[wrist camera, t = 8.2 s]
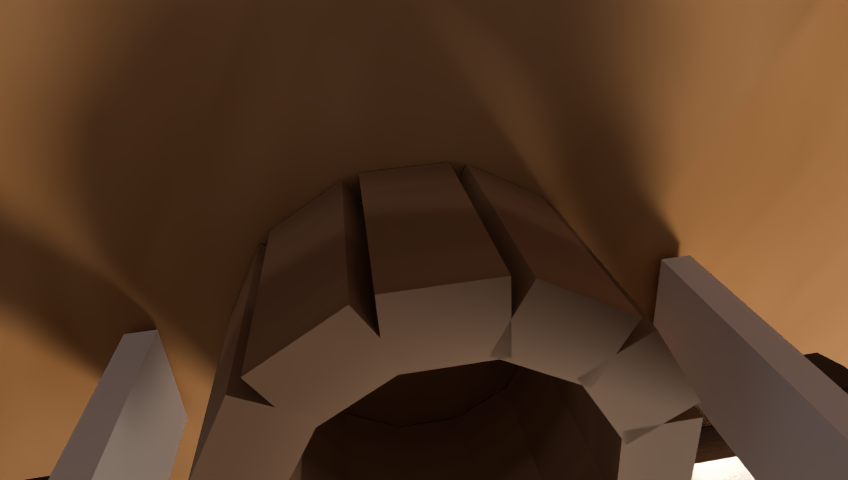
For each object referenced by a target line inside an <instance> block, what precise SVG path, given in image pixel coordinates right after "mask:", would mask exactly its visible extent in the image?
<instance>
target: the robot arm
mask: <svg viewBox="0 0 848 480" xmlns="http://www.w3.org/2000/svg"><path fill="white" fill-rule="evenodd" d="M653 325H654V326H655V327H656V328H657V330H658V331H659V333H660V335H661V336H662V338H663V340H664V341H665V343H666V345H667V346H668V348H669V350H670V351H671V353H672V355H673V356H674V358H675V360H676V361H677V363H678V365H679V366H680V368H681V370H682V371H683V373H684V375H685V376H686V378H687V380H688V381H689V383H690V384H691V386H692V388H693V389H694V391H695V393H696V394H697V396H698V398H699V399H700V401H701V402H700V403H698V404H696V405H697V406H698V407H699V409H700V410H701V411H702V412H703V414H704V415H705V416H706V418H707V419H708V420H709V421H710V423H711V424H712V425H713V426H714V428H715V429H716V430H717V432H718V433H719V434H720V435H721V437H722V438H723V439H724V440H725V442H726V443H727V444H728V446H729V447H730V448H731V449H732V451H733V452H734V453H735V454H736V456H737V457H738V458H739V460H740V461H741V462H742V463H743V465H744V466H745V467H746V468H747V470H748V471H749V472H750V474H751V475H752V476H753V477H754V479H755V480H848V369H847V368H846V367H844V366H842V365H840V364H838V363H836V362H834V361H832V360H830V359H828V358H827V357H825V356H823V355H821V354H819V353H812V354H806V355H803V354H801V353H800V352H799V351H798V350H797V349H796V348H795V347H794V346H792V345H791V344H790V343H789V342H788V341H787V340H786V339H784V338H783V337H782V336H781V335H780V334H779V333H778V332H776V331H775V330H774V329H773V328H772V327H771V326H770V325H769V324H767V323H766V322H765V321H764V320H763V319H762V318H761V317H759V316H758V315H757V314H756V313H755V312H754V311H753V310H751V309H750V308H749V307H748V306H747V305H746V304H745V303H744V302H742V301H741V300H740V299H739V298H738V297H737V296H736V295H734V294H733V293H732V292H731V291H730V290H729V289H728V288H726V287H725V286H724V285H723V284H722V283H721V282H720V281H719V280H717V279H716V278H715V277H714V276H713V275H712V274H711V273H709V272H708V271H707V270H706V269H705V268H704V267H703V266H701V265H700V264H699V263H698V262H697V261H696V260H695V259H694V258H692V257H691V256H690V255H689V256H682V257H674V258H667V259H661V267H660V275H659V283H658V290H657V298H656V306H655V314H654V322H653ZM186 420H187V414H186V411H185V408H184V405H183V403H182V400H181V397H180V394H179V391H178V388H177V385H176V382H175V379H174V376H173V373H172V371H171V368H170V365H169V362H168V359H167V356H166V353H165V350H164V347H163V344H162V341H161V338H160V336H159V333H158V330H151V331H143V332H136V333H129V334H124V335H123V337H122V339H121V341H120V343H119V344H118V346H117V348H116V350H115V352H114V354H113V356H112V358H111V360H110V362H109V364H108V366H107V368H106V369H105V371H104V373H103V375H102V377H101V379H100V381H99V383H98V385H97V387H96V389H95V391H94V393H93V395H92V396H91V398H90V400H89V402H88V404H87V406H86V408H85V410H84V412H83V414H82V416H81V418H80V420H79V421H78V423H77V425H76V427H75V429H74V431H73V433H72V435H71V437H70V439H69V441H68V443H67V445H66V447H65V448H64V450H63V452H62V454H61V456H60V458H59V460H58V462H57V464H56V466H55V468H54V470H53V472H52V473H51V475H50V476H46V477H39V478H33V479H27V480H169V478H170V474H171V471H172V468H173V464H174V461H175V458H176V454H177V451H178V447H179V444H180V441H181V437H182V434H183V431H184V427H185V424H186Z"/></svg>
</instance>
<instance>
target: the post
mask: <svg viewBox="0 0 848 480" xmlns="http://www.w3.org/2000/svg"><path fill="white" fill-rule="evenodd" d="M691 480H755V479H754V477H753V476H752V475H751V474H750V472H749V471H748V470H747V468H746V467H745V466H744V465H743V463H742V462H741V461H740V460H739V458H738V457H737V456H736V454H735V453H734V452H733V451H732V449H731V448H730V447H729V446H728V444H727V443H726V442H725V440H724V439H723V438H722V437H721V435H720V434H719V433H718V432H717V430H716V429H715V428H714V426H711V427H705V428H701V432H700V437H699V443H698V448H697V453H696V458H695V463H694V469H693V474H692V479H691Z"/></svg>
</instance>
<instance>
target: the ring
mask: <svg viewBox="0 0 848 480" xmlns="http://www.w3.org/2000/svg"><path fill="white" fill-rule="evenodd" d="M359 180H360V187H361V195H362V202H363V205H362V203H361V202H360V201H359V200H358V199H357V197H356V196H355V195H354V194H353V193H352V191H351V190H350V189H349V188H348V187H347V185H346V184H345V183H344V182H343V181H342V179H341V180H340V181H339V182H337V183H336V184H334V185H333V186H332V187H330V188H329V189H327V190H326V191H325V192H323V193H322V194H321V195H319V196H318V197H316V198H315V199H314V200H312V201H311V202H309V203H308V204H307V205H305V206H304V207H302V208H301V209H300V210H298V211H297V212H295V213H294V214H293V215H291V216H290V217H288V218H287V219H286V220H284V221H283V222H281V223H280V224H279V225H277V226H276V227H274V228H273V229H272V230H270V232H269V237H268V242H267V246H265V245H262V244H259V246H258V248H257V251H256V253H255V256H254V258H253V261H252V263H251V266H250V268H249V271H248V273H247V276H246V278H245V281H244V283H243V286H242V288H241V291H240V293H239V296H238V298H237V301H236V303H235V306H234V308H233V311H232V313H231V317H230V321H229V325H228V328H227V332H226V336H225V340H224V344H223V348H222V352H221V356H220V359H219V363H218V367H217V371H216V375H215V379H214V383H213V387H212V390H211V394H210V398H209V402H208V406H207V410H206V414H205V418H204V422H203V425H202V429H201V433H200V437H199V441H198V445H197V449H196V453H195V456H194V460H193V464H192V468H191V472H190V476H189V480H691V479H692V474H693V469H694V463H695V458H696V453H697V448H698V443H699V437H700V432H701V427H702V422H703V416H702V415H701V414H700V412H699V411H698V410H697V409H696V407H695V405H696V404H698V403H700V402H701V401H700V399H699V398H698V396H697V394H696V393H695V391H694V389H693V388H692V386H691V384H690V383H689V381H688V380H687V378H686V376H685V375H684V373H683V371H682V370H681V368H680V366H679V365H678V363H677V361H676V360H675V358H674V356H673V355H672V353H671V351H670V350H669V348H668V346H667V345H666V343H665V341H664V340H663V338H662V336H661V335H660V333H659V331H658V330H657V328H656V327H655V326H654V325H653V324H652V323H651V321H650V320H649V319H648V318H647V317H646V315H645V314H644V313H643V312H642V311H641V309H640V308H639V307H638V306H637V305H636V304H635V302H634V301H633V300H632V299H631V298H630V296H629V295H628V294H627V293H626V292H625V291H624V289H623V288H622V287H621V286H620V285H619V283H618V282H617V281H616V280H615V279H614V277H613V276H612V275H611V274H610V273H609V272H608V270H607V269H606V268H605V267H604V266H603V264H602V263H601V262H600V261H599V260H598V259H597V257H596V256H595V255H594V254H593V253H592V251H591V250H590V249H589V248H588V247H587V245H586V244H585V243H584V242H583V241H582V240H581V238H580V237H579V236H578V235H577V234H576V232H575V231H574V230H573V229H572V228H571V226H570V225H569V224H568V223H567V222H566V221H565V219H564V218H563V217H562V216H561V215H560V213H559V212H558V211H557V210H556V209H555V208H554V206H552V207H550V206H549V205H548V203H547V202H546V201H545V200H544V198H543V197H542V196H540V195H538V194H535V193H533V192H531V191H528V190H526V189H524V188H521V187H519V186H516V185H514V184H512V183H509V182H507V181H505V180H502V179H500V178H498V177H495V176H493V175H491V174H488V173H486V172H483V171H481V170H479V169H476V168H474V167H472V166H469V165H467V164H466V166H465V168H464V170H463V172H462V174H461V176H460V178H459V179H458V177H457V175H456V173H455V172H454V170H453V168H452V166H451V164H450V162H445V163H437V164H428V165H420V166H412V167H404V168H395V169H387V170H379V171H370V172H362V173H359ZM498 359H500V360H503V361H507V362H510V363H513V364H516V365H519V368H518V369H517V371H516V372H515V374H514V375H513V377H512V379H511V380H510V382H509V383H508V385H507V386H506V388H505V389H503V390H501V391H500V392H498V393H497V394H495V395H493V396H492V397H490V398H489V399H487V400H485V401H484V402H482V403H480V404H479V405H477V406H476V407H474V408H472V409H471V410H469V411H467V412H466V413H464V414H463V415H461V416H459V417H458V418H454V419H448V420H442V421H436V422H429V423H423V424H417V425H411V426H405V427H396V426H392V425H388V424H385V423H381V422H377V421H373V420H369V419H365V418H361V417H357V416H353V415H349V414H345V413H344V412H343V410H344V409H346V408H347V407H349V406H350V405H352V404H353V403H355V402H357V401H358V400H360V399H361V398H363V397H364V396H366V395H367V394H369V393H371V392H372V391H374V390H375V389H377V388H378V387H380V386H381V385H383V384H385V383H386V382H388V381H389V380H391V379H392V378H394V377H395V376H397V375H400V374H407V373H413V372H420V371H426V370H433V369H440V368H446V367H453V366H459V365H466V364H472V363H479V362H485V361H492V360H498Z"/></svg>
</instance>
